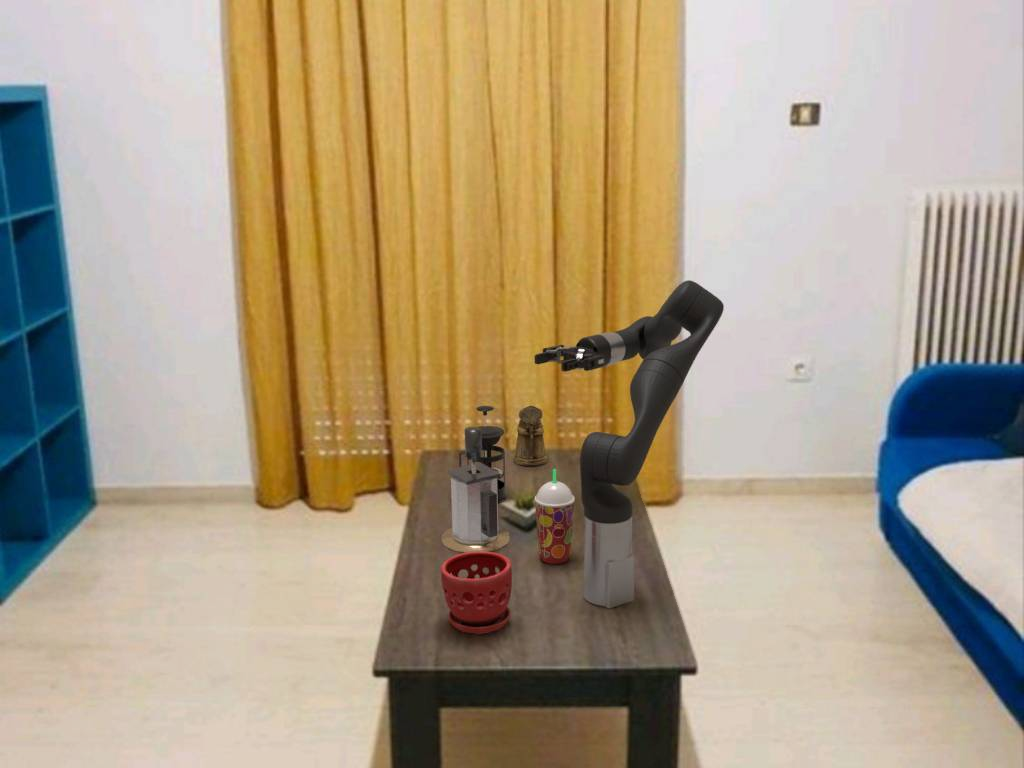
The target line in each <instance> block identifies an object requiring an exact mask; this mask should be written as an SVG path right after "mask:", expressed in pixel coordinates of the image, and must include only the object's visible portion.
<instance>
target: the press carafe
mask: <svg viewBox="0 0 1024 768" xmlns="http://www.w3.org/2000/svg"><path fill="white" fill-rule="evenodd" d="M447 475H449V476H450V486H451V487H450V493H451V494H450V496H451V527H449V528H448V529H447V530H445V531H444V532H443V533H442V535H441V543H443V544H442V545H443V546H444V547H445V548H447V549H448V548H449V549H448V550H450V549H451V551H453V552H457V553H461V552H463V553H467V552H477V551H484V552H494V551H498V550H500V549H502V548H504V547H505V546H507V545H508V544H509V541H510V537H511V536H510V533H509V532H508V531H507V529H505V528H503V527H502V526H499V510H498V507H499V506H498V505H499V503H498V494H497V478H499V477H501V474H500V473H498V472H497V471H495V470H493V469H491V468H490V467H488V466H486V465H484V464H483V463H481V462H476V474H472V465H471V464H469V465H468V464H467V465H465V466H463V465H462V467H455V468H451V469H447Z"/></svg>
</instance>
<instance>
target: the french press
mask: <svg viewBox="0 0 1024 768" xmlns="http://www.w3.org/2000/svg"><path fill="white" fill-rule="evenodd" d="M494 409H495V407H493V406H491V405H479V406H477V407H476V408H475V410H476V411H478V412H482V416H484V419H483V420H484V425H481V426H478V427H479V428H481V437H482V452H483V456H482V457H480V458H476V463H483V464H484V465H486V466H488V467H490V468H491V469H493V470H495V471H497V472H498V473H500V474H501V477H499V478H497V494H498V502H500V501H502V500H504V499H505V498H506V499H507V494H506V462H505V461H506V459H505V458H506V457H505V455H506V454H505V453H506V452H505V451H506V450H505V448H503V447H502V446H499V445H497V444H498V442H499V441H500V439H501V438H502V437H503V435H504V434H505V430H504V429H503V428H501V427H499V426H498V427H497V426H492V425H487V415H488V412H492V411H493V410H494ZM492 451H493V452H499V454H497V455H494V456H492ZM500 453H501V454H500ZM458 454H459V455H458V461H459V463H458V464H459V467H463V465H462V455H465V450H460V451H459V453H458ZM501 460H503V470H502V469H501V468H498V467H494V466H492V463H495V462H498V461H499V462H500V461H501ZM470 461H471V459H470V458H467V466H468V465H470ZM459 467H458V468H459ZM502 478H503V480H501V479H502ZM506 499H505V500H506ZM505 500H504V501H505Z"/></svg>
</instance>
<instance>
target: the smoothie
mask: <svg viewBox="0 0 1024 768" xmlns="http://www.w3.org/2000/svg"><path fill="white" fill-rule="evenodd" d="M537 491H538V492H537V494H535V497H534V504H535V505H534V506H535V519H536V520H535V521H536V531H537V532H536V533H537V534H536V535H537V545H538V549H537V550H538V555H539V556H540V558H541V560H542V561H543V562H544V563H546V564H550V565H559V564H563V563H565V562H567V561H568V560H569V557H570V556H571V554H572V543H573V542H572V541H573V529H574V528H573V527H574V515H575V514H574V511H575V501H576V498H575V495H573V493H572V490H571V489H570V488H569V486H567V484H565V483H563V482H561V481H558V480H557V469H556V468H554V469H552V480H550V481H548V482H546V483H544V484H543V485H541V486H540V488H539V490H537Z"/></svg>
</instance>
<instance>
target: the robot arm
mask: <svg viewBox="0 0 1024 768" xmlns="http://www.w3.org/2000/svg"><path fill="white" fill-rule="evenodd" d="M724 311H725V309H724V303H723V301H722V300H721V299H719V297H718V296H716V295H715V294H713V293H712V292H710V291H709V290H708V289H706V288H705V287H703V286H701V285H700V284H699V283H697V282H696V281H694V280H691V279H689V280H688V279H687V280H685V281H682V282H681V283H679V285H678V286H676V287H675V289H674V290H673V291H672V292H671V294H670V295H669V296H668V298H667V299H666V300H665V301H664V303H663V304H662V305H661V307H660V308H659V310H658V312H657V313H656V314H655V315H653V316H649V315H648V316H647V315H646V316H643V317H640V318H639V319H637V320H636V321H634V322H632V323H631V324H630V325H629V326H627V327H626V328H623V329H619V330H616V331H611V332H602V333H597V334H594V335H590V336H585V337H582V338H580V339H579V340H578V341H577V343H576V345H569V346H566V347H565V345H564V344H559V345H558V344H557V345H554V346H553V345H552V346H549V347H543V348H542V352H539V353H536V354H535V355H534V364H535V365H541V364H545V363H550V362H551V363H552V362H556V364H558V365H559V364H561V365H560V366H561V371H562V372H564V373H565V372H568V371H573V370H574V371H575V370H577V371H581V370H582V369H583V371H585V372H588V371H593V370H596V369H601V368H605V367H608V366H609V367H610V366H612V365H615V364H617V363H620V362H623V361H627V360H631V359H634V358H635V357H637V355H639V357H640V358H641V359H642V361H641V362H640V365H639V366H638V368H637V370H636V371H635V374H634V375H633V377H632V380H631V382H630V385H629V395H630V396H629V397H630V400H631V404H632V409H633V415H634V423H633V426H632V428H631V429H630V431H629V433H628V434H627V435H625V436H623V435H617V434H613V433H608V432H601V431H593V432H591V433H589V434H588V435H587V436H586V437H585V439H584V441H583V443H582V445H581V449H580V457H579V467H580V469H579V473H580V475H579V476H580V488H581V489H580V490H581V491H580V493H581V502H582V507H583V597H584V599H585V600H586V601H588V603H591V604H593V605H595V606H596V605H597V606H600V607H604V608H607V609H612V608H615V607H618V606H621V605H624V604H628V603H631V602H634V600H635V599H634V597H635V556H634V555H633V553H632V546H633V545H632V544H633V543H632V542H633V537H632V536H633V503H632V500H631V499H630V498H629V496H627V495H625V494H624V493H622V492H621V491H620V490H618V488H616V487H615V486H621V487H624V486H629V485H631V484H632V483H634V482H635V480H636V479H637V477H638V475H639V474H640V473H641V470H642V469H643V466H644V463H645V461H646V458H647V457H648V454H649V452H650V449H651V446H652V445H653V442H654V440H655V437H656V435H657V433H658V431H659V428H660V426H661V424H662V423H663V421H664V418H665V417H666V415H667V413H668V411H669V409H670V407H672V404H673V402H674V400H675V399H676V398H677V395H678V394H679V392H680V390H681V388H682V386H683V384H684V383H685V382H684V381H685V380H686V377H687V376H688V374H689V371H690V370H691V368H692V366H693V364H694V362H695V360H696V358H697V357H698V354H699V352H701V350H702V348H703V346H704V345H705V343H706V342H707V340H708V339H709V338H710V335H711V334H712V332H713V331H714V329H715V327H716V326H717V325H718V323H719V321H720V319H721V317H722V316H723V313H724ZM682 329H685V330H686V332H687V331H688V333H689V334H690V335H689V336H688V337H686V338H684V339H683V340H681V341H678V342H677V343H674V344H672V342H673V341H674V340H676V339H677V338H678V336H679V335H680V333H681V332H682ZM561 358H563V359H561ZM614 485H615V486H614Z"/></svg>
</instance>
